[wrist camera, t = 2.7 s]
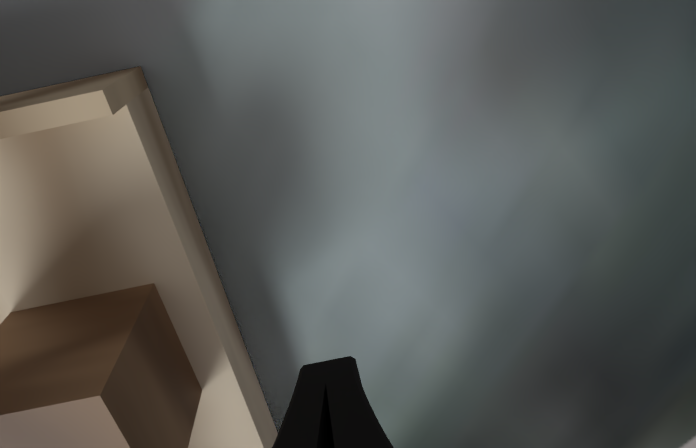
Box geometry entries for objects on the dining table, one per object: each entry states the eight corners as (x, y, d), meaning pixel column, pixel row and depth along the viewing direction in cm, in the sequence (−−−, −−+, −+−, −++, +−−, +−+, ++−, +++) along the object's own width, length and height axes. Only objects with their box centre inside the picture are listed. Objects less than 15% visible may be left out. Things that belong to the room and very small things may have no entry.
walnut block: (154, 283, 15) (99, 395, 11) (202, 390, 17) (170, 517, 14) (10, 312, 16) (-93, 433, 12) (75, 415, 18) (6, 548, 14)
